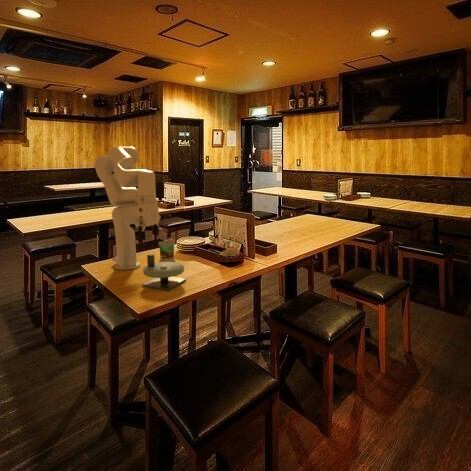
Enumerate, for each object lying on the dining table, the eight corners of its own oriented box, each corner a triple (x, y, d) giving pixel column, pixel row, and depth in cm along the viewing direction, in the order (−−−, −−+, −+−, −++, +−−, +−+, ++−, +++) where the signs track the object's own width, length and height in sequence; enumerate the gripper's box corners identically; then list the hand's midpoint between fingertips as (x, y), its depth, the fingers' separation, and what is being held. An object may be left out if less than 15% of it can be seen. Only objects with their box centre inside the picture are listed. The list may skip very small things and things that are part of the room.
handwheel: (191, 268, 169) (191, 254, 167) (168, 280, 153) (167, 265, 152) (159, 262, 177) (159, 249, 175) (134, 274, 161) (133, 259, 159)
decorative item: (237, 250, 206) (242, 247, 197) (237, 265, 204) (242, 263, 195) (216, 249, 203) (220, 245, 193) (216, 264, 201) (220, 262, 192)
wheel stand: (142, 286, 163) (141, 274, 161) (160, 276, 175) (160, 265, 174) (168, 291, 157) (168, 278, 156) (185, 280, 170) (185, 269, 168)
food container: (168, 260, 201) (168, 242, 199) (159, 259, 203) (158, 241, 201) (179, 254, 212) (179, 237, 210) (170, 253, 214) (169, 236, 212)
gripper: (141, 202, 151) (143, 242, 155) (165, 197, 166) (167, 234, 171) (127, 201, 154) (129, 240, 158) (152, 196, 169) (153, 232, 174)
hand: (149, 237), depth 164 cm, fingers open, 9 cm apart
